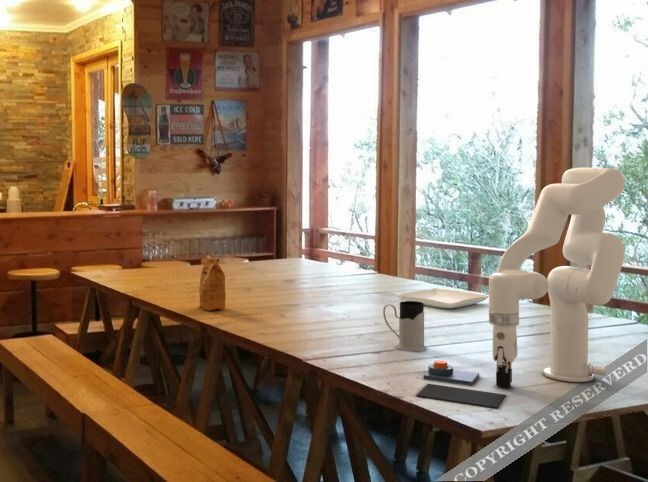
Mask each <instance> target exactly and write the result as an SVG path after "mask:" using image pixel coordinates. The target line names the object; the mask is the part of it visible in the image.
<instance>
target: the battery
mask: <svg viewBox="0 0 648 482" xmlns="http://www.w3.org/2000/svg"><path fill="white" fill-rule="evenodd" d="M503 364H504V363H503ZM504 365H505V364H504ZM511 369H512V364H511V365H510V364H508V372H509V387H501V386H497V387H498V388H500V389H510V388H512V382H511Z"/></svg>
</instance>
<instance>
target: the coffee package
mask: <svg viewBox="0 0 648 482" xmlns="http://www.w3.org/2000/svg"><path fill="white" fill-rule="evenodd" d="M219 263H220V259H219V258H213V257H211V256H210V255H207V256H206V258H205V260H204V263H203V266H202V269H201V272H200V276H199V277H200V279H199V287H198V294H199V308H201V309H202V310H204V311H208V312H211V311H216V310H222V309H225V308H226V299H227V293H226V275H225V273H224V271H223V269H222V268H221V266H220V265H219Z"/></svg>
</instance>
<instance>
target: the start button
mask: <svg viewBox="0 0 648 482" xmlns="http://www.w3.org/2000/svg"><path fill="white" fill-rule="evenodd" d="M433 364H434V367H435V368H441V369H445V368H447V365H448V361H446V360H442V359H437V360H434V361H433Z"/></svg>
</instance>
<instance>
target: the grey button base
mask: <svg viewBox="0 0 648 482" xmlns="http://www.w3.org/2000/svg"><path fill="white" fill-rule="evenodd" d="M427 367H428V371H427V372H425V374H423V380H428V381H436V382H442V383H443V382H444V383H449V384H456V385H463V386H465V385H466V386H470V387H471V386H473V385H474V384H475V382H476V381H477V380H478V379H479V378H480V373H479V372H474V371H466V370H458V369H454V367H453V366H452V365H450V364H447V368H445V369H441V368H435V367H434V363H429V365H428V366H427Z"/></svg>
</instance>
